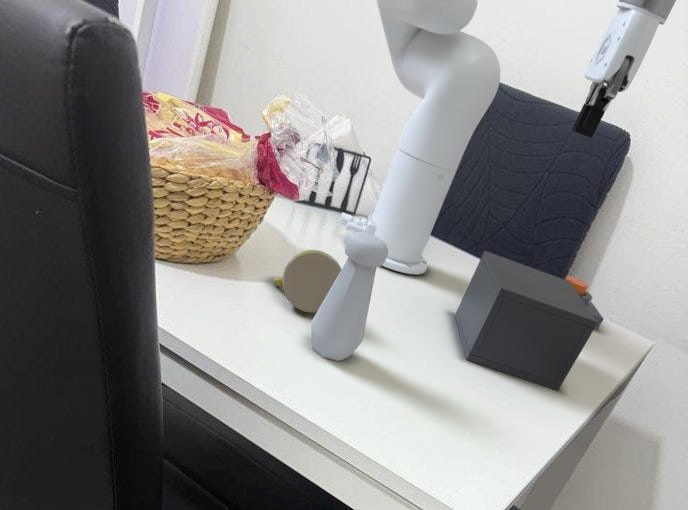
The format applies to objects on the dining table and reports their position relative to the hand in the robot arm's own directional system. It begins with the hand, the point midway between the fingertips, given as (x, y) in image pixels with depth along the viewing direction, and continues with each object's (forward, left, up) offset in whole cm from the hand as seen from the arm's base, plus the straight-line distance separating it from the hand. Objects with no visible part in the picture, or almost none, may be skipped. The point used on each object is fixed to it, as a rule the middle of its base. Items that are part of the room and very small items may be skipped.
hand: (581, 133), depth 114 cm
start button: (+8, -9, -22) cm, 25 cm away
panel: (+8, -9, -25) cm, 28 cm away
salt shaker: (-32, -56, -25) cm, 69 cm away
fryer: (-8, -38, -25) cm, 46 cm away
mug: (-36, -44, -25) cm, 62 cm away
